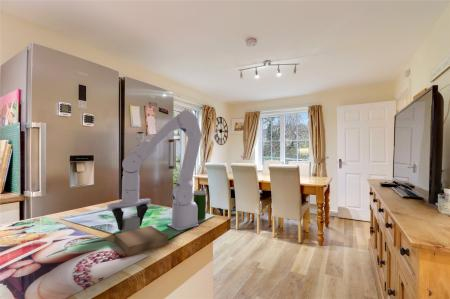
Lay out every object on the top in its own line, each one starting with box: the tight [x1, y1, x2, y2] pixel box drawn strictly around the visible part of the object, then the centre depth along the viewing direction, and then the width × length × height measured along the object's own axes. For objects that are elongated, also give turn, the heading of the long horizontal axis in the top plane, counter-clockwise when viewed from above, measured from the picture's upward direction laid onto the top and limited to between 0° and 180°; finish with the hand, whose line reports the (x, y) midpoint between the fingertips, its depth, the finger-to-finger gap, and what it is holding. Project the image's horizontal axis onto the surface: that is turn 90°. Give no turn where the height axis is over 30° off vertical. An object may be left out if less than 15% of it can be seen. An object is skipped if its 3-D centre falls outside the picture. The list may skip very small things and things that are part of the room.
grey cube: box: [119, 214, 141, 233], centre depth 79 cm, size 5×5×5 cm
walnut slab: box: [114, 225, 169, 257], centre depth 70 cm, size 12×12×3 cm
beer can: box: [192, 189, 207, 222], centre depth 94 cm, size 5×5×12 cm
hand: (129, 227), depth 79 cm, fingers open, 6 cm apart
